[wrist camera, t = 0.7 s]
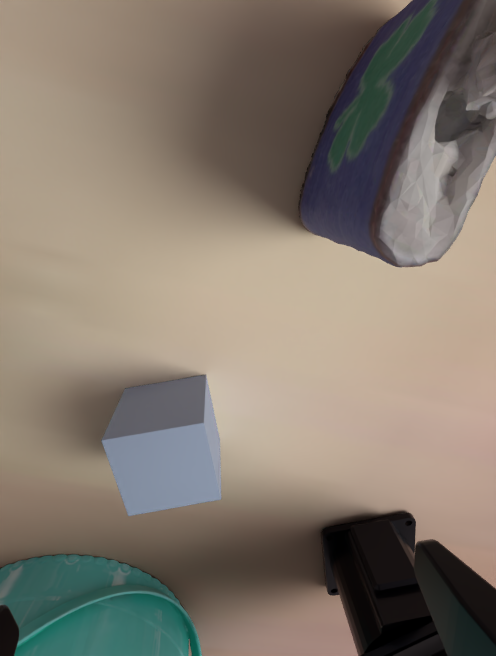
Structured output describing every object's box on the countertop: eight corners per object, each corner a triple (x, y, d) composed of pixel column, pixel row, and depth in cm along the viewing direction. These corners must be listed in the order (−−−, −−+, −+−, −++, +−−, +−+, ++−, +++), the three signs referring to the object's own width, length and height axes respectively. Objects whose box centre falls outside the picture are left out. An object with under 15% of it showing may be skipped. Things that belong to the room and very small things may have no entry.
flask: (331, 242, 18) (481, 304, 8) (279, 217, 17) (369, 248, 7) (435, 40, 15) (865, -263, 5) (378, 1, 14) (742, -431, 4)
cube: (219, 439, 21) (221, 499, 17) (145, 452, 21) (128, 516, 17) (206, 374, 20) (203, 422, 16) (125, 387, 20) (101, 440, 15)
